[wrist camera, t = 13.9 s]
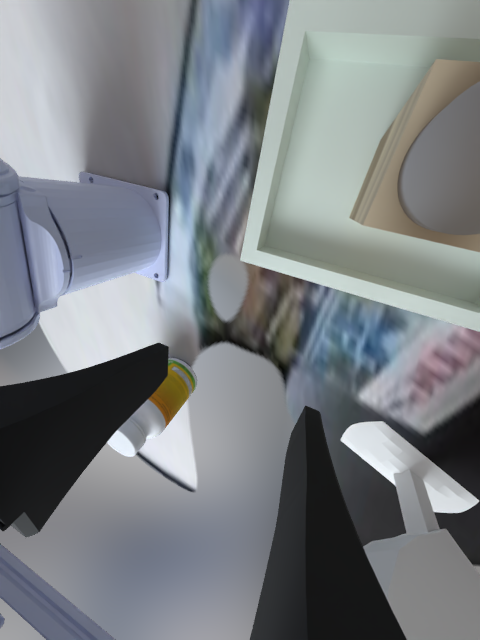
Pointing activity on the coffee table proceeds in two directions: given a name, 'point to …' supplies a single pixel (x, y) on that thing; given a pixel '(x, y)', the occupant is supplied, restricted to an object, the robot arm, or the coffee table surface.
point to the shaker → (430, 162)
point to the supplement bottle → (156, 409)
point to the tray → (355, 152)
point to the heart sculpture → (420, 541)
